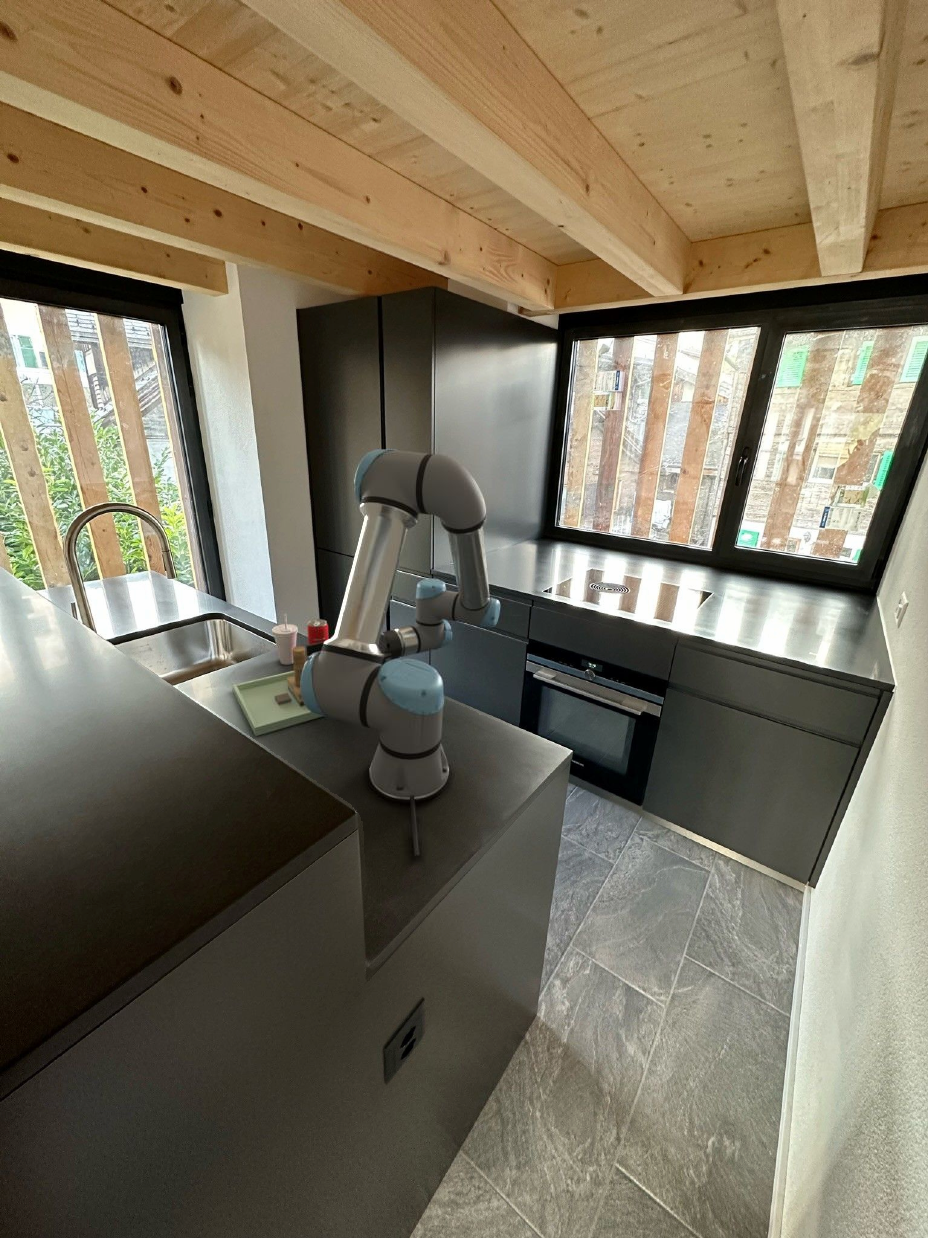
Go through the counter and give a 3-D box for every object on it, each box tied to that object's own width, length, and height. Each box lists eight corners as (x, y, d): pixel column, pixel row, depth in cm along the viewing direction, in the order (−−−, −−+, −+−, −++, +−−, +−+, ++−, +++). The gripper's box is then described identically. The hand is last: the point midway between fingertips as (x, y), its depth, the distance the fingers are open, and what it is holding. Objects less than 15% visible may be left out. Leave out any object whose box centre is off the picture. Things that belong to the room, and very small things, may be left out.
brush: (317, 702, 120) (314, 654, 115) (300, 706, 118) (296, 658, 113) (304, 684, 127) (300, 639, 122) (287, 688, 125) (283, 642, 120)
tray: (331, 713, 117) (330, 706, 117) (255, 736, 108) (254, 728, 108) (302, 675, 132) (301, 668, 131) (233, 692, 123) (232, 685, 122)
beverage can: (332, 659, 140) (330, 619, 136) (325, 668, 136) (323, 627, 131) (313, 657, 141) (311, 617, 136) (306, 666, 136) (303, 625, 131)
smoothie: (284, 669, 134) (280, 620, 128) (270, 661, 138) (265, 613, 132) (305, 661, 139) (301, 613, 133) (290, 653, 142) (286, 606, 137)
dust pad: (291, 701, 120) (291, 698, 120) (278, 705, 118) (278, 702, 118) (287, 695, 122) (287, 692, 122) (274, 698, 120) (274, 696, 120)
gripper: (420, 678, 125) (337, 701, 114) (375, 638, 144) (300, 654, 132) (421, 650, 122) (336, 671, 111) (375, 613, 141) (298, 628, 129)
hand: (316, 662), depth 122 cm, fingers open, 13 cm apart
